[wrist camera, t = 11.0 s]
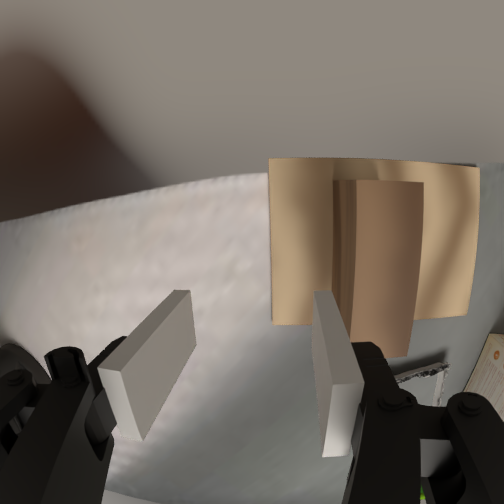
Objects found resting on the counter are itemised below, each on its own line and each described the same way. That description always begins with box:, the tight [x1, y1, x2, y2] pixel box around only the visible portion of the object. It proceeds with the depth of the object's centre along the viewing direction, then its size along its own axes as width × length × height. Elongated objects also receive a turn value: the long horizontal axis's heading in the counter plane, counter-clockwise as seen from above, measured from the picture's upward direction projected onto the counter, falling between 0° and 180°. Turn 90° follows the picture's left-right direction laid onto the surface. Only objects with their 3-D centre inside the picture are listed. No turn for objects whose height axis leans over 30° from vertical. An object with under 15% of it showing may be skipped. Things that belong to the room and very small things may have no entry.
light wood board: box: [268, 158, 480, 325], centre depth 28 cm, size 22×16×1 cm
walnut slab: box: [331, 180, 424, 358], centre depth 23 cm, size 4×12×10 cm, turn 2°
